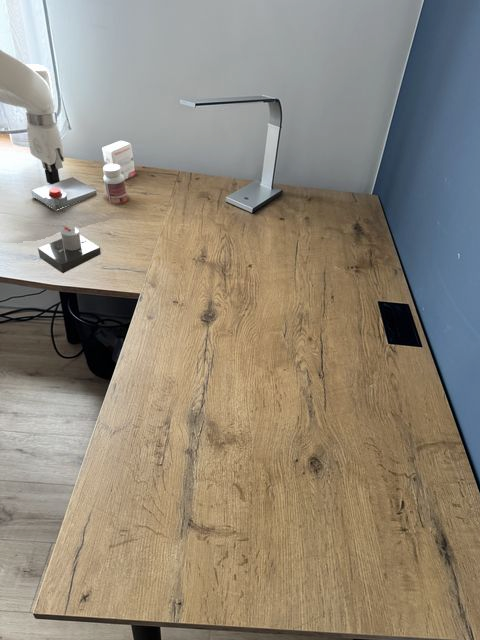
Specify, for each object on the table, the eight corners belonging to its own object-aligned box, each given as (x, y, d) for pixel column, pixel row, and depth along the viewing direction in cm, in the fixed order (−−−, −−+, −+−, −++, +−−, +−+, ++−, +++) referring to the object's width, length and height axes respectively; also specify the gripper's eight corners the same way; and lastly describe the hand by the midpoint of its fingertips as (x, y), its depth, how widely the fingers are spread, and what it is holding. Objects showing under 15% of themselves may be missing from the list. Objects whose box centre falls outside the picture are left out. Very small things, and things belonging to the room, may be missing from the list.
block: (55, 213, 150) (52, 201, 147) (29, 197, 155) (26, 185, 152) (99, 197, 160) (97, 186, 157) (73, 183, 165) (71, 171, 162)
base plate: (63, 274, 129) (61, 263, 127) (39, 257, 133) (37, 247, 131) (101, 256, 136) (100, 246, 134) (78, 241, 140) (76, 231, 138)
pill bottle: (131, 201, 159) (126, 166, 151) (117, 208, 156) (111, 173, 148) (118, 195, 162) (112, 161, 154) (103, 202, 158) (96, 167, 150)
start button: (54, 199, 149) (53, 193, 148) (47, 195, 150) (46, 189, 149) (63, 196, 151) (62, 190, 150) (57, 192, 152) (56, 186, 151)
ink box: (126, 173, 173) (121, 139, 165) (136, 177, 171) (131, 142, 163) (107, 182, 168) (101, 147, 160) (117, 186, 166) (111, 151, 158)
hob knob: (84, 246, 134) (82, 230, 130) (70, 252, 131) (67, 236, 128) (74, 239, 135) (71, 223, 132) (60, 245, 133) (57, 229, 129)
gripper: (12, 111, 136) (26, 176, 148) (46, 129, 130) (58, 195, 142) (37, 106, 140) (49, 170, 153) (71, 123, 134) (80, 187, 147)
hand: (53, 182), depth 148 cm, fingers closed
